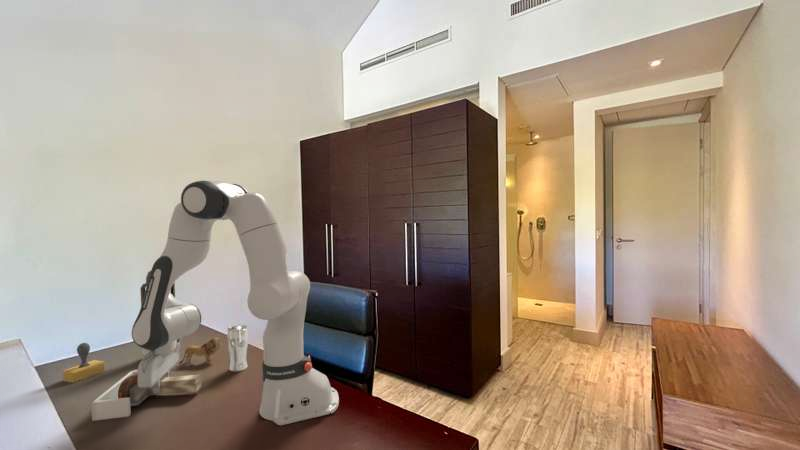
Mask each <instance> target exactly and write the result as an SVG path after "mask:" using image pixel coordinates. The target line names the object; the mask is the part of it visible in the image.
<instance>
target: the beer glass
mask: <svg viewBox="0 0 800 450" xmlns="http://www.w3.org/2000/svg"><path fill="white" fill-rule="evenodd" d="M226 332H227V336H226V339H227V341H226V342H227V343H226V344H227V345H226V346H227V348H228V350H227V351H228V353H229V357H230V358H229V359H230V360H229V361H230V365H229V371H230V372H234V373H235V372H241V371H245V370H246V369H247V368H248V366H249V365H248V361H247V351H248V345H249V334H248V326H247V325H245V324H244V325H242V324H241V325H240V324H239V325H233V326H230V327H228V328H227V331H226Z"/></svg>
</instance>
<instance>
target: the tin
mask: <svg viewBox="0 0 800 450" xmlns="http://www.w3.org/2000/svg"><path fill="white" fill-rule="evenodd" d="M137 383H138V371H136V372H135V373H133V374H132V375H130V376H129V377H127V378H126V379H125V380H124V381H123V382H122V383H121V385H120V387H119V390H118V398H128V397H130V392H129V389H130V388H132V387H133V386H134V385H136V384H137ZM135 406H136V405H134V406H133V407H135ZM130 407H132V406H131V404H130Z"/></svg>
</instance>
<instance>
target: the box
mask: <svg viewBox="0 0 800 450" xmlns="http://www.w3.org/2000/svg"><path fill="white" fill-rule="evenodd" d="M136 371H138V369H135V370H130V371H129V372H127V374H126V375H125V376H123V377H121V378H120V380H118V381H117V382H116V383H115V384H113V385H112V386H110V388H108V389H107V390H106V391H105V392H103V393H102V394H101V395H100V396H98V397H97V398H96V399H95V400H93V401H92V402H91V405H90V407H91V421H102V420H109V419H110V420H111V419H118V418H128V417H130V416H131V415H132V414H131V412H132V411H131V406H130V397H128V398H118V390H119V387H120V385H121V383H122V382H123V381H124V380H125V379H126V378H127V377H129V376H130V375H132V374H133V373H135V372H136Z"/></svg>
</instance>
